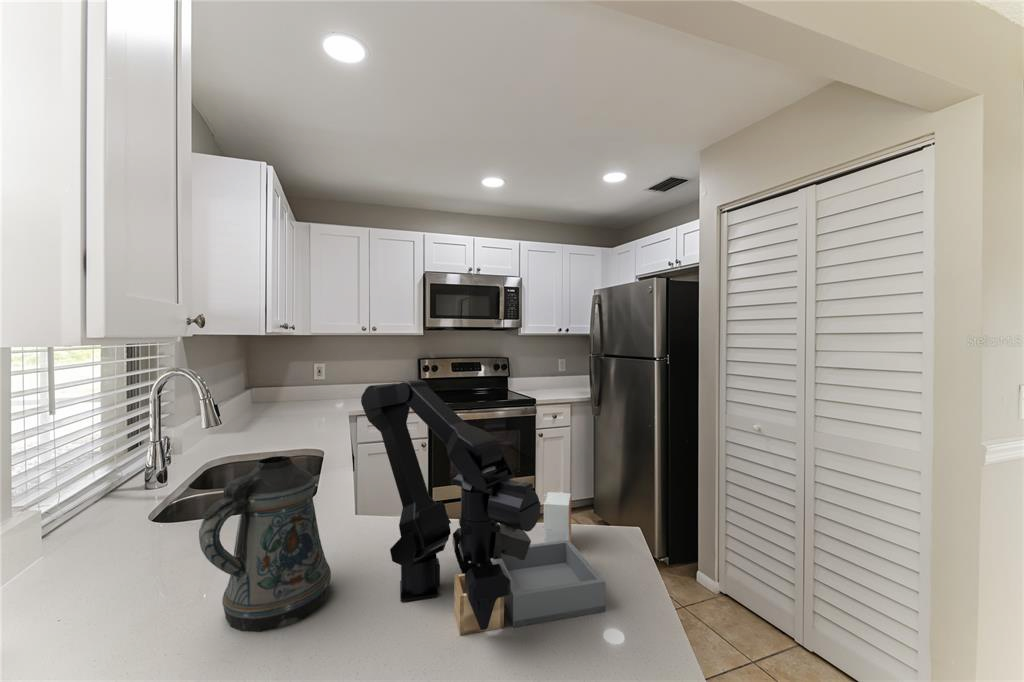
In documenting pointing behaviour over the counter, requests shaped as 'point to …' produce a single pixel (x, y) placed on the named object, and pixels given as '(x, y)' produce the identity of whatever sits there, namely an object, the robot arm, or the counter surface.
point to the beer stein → (269, 547)
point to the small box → (557, 517)
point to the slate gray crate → (551, 584)
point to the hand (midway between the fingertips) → (478, 610)
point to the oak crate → (466, 614)
